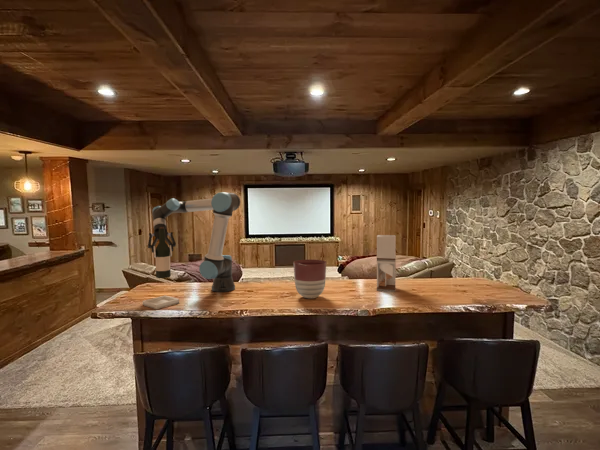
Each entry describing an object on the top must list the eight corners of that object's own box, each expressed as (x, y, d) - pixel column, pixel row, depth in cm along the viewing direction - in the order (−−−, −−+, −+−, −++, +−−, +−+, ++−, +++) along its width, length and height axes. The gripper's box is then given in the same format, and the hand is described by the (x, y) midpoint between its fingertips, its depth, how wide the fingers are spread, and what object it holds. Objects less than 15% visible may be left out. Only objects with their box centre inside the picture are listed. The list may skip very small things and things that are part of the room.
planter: (324, 302, 188) (323, 265, 187) (290, 301, 192) (290, 264, 191) (328, 293, 207) (328, 259, 206) (297, 292, 211) (297, 259, 210)
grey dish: (165, 299, 199) (165, 295, 198) (179, 303, 190) (179, 298, 190) (142, 305, 187) (142, 300, 187) (156, 309, 179) (156, 304, 179)
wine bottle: (157, 278, 195) (155, 227, 193) (154, 276, 202) (152, 227, 200) (172, 276, 200) (170, 227, 198) (169, 274, 207) (167, 226, 205)
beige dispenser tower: (376, 290, 214) (376, 236, 212) (377, 286, 224) (377, 235, 222) (395, 291, 211) (395, 236, 209) (395, 287, 221) (395, 235, 219)
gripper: (177, 230, 218) (181, 258, 205) (141, 231, 208) (143, 261, 195) (178, 222, 213) (182, 250, 199) (141, 223, 203) (143, 253, 190)
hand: (163, 255), depth 197 cm, fingers closed on wine bottle, 8 cm apart
